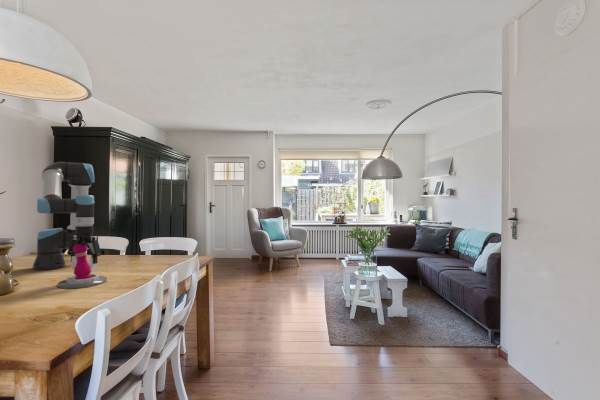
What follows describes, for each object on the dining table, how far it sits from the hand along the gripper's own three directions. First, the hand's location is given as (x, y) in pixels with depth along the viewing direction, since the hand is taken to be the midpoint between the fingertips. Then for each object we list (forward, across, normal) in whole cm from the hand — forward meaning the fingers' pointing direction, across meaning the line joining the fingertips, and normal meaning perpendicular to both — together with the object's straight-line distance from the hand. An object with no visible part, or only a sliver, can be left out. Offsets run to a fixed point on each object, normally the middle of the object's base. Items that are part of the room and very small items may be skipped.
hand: (83, 269), depth 149 cm
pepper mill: (+5, 0, 0) cm, 5 cm away
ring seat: (+7, 0, 0) cm, 7 cm away
